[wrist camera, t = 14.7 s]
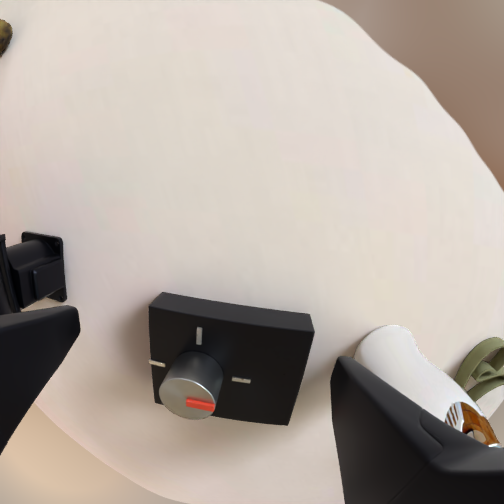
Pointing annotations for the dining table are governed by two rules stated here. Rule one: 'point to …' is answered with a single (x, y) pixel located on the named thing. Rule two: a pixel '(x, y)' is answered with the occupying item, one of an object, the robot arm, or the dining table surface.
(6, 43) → the potato
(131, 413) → the dining table surface
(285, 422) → the hob panel
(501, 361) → the cookie cutter
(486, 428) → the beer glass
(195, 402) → the hob knob
